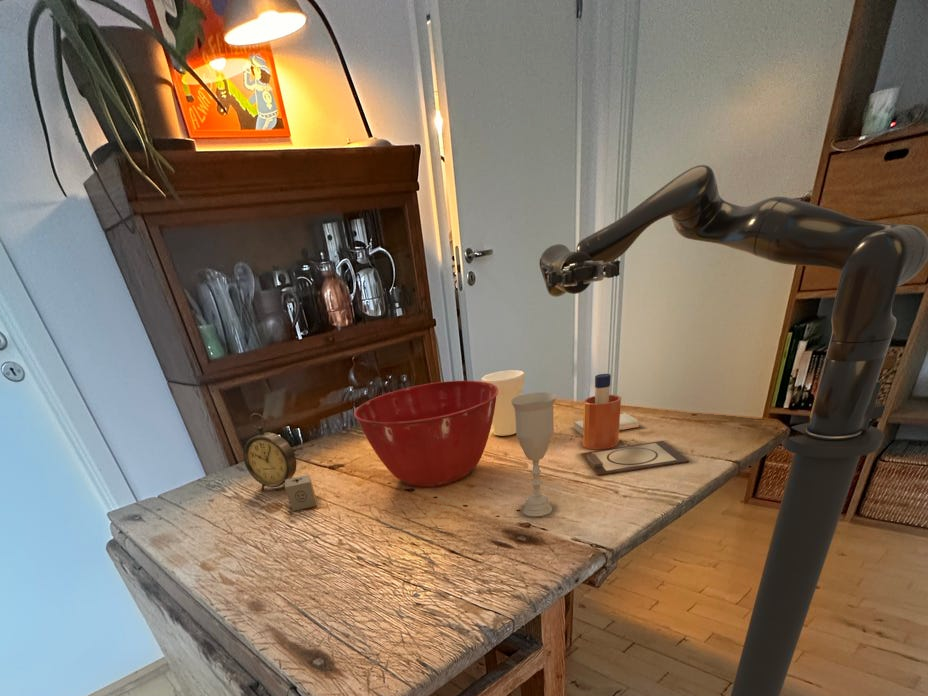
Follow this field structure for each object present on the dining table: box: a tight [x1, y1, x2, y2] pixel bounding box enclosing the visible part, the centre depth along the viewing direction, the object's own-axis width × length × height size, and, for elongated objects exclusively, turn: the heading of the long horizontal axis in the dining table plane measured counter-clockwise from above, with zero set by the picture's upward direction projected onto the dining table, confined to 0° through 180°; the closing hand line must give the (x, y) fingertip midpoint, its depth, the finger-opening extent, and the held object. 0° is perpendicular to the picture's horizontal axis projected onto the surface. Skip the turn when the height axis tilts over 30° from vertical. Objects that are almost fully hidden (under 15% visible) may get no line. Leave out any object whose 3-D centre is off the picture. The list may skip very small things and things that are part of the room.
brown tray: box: [580, 440, 690, 477], centre depth 102 cm, size 17×13×1 cm
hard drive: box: [573, 412, 640, 436], centre depth 119 cm, size 2×8×12 cm
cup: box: [481, 369, 525, 436], centre depth 123 cm, size 10×10×13 cm
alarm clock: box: [242, 412, 297, 491], centre depth 113 cm, size 11×5×16 cm, turn 74°
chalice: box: [511, 392, 557, 517], centre depth 84 cm, size 7×7×18 cm
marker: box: [594, 373, 612, 404], centre depth 107 cm, size 3×3×13 cm
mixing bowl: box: [353, 380, 498, 488], centre depth 105 cm, size 28×28×16 cm
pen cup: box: [582, 394, 622, 450], centre depth 109 cm, size 7×7×9 cm
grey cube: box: [284, 474, 318, 512], centre depth 106 cm, size 5×5×5 cm
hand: (591, 274), depth 102 cm, fingers open, 8 cm apart
